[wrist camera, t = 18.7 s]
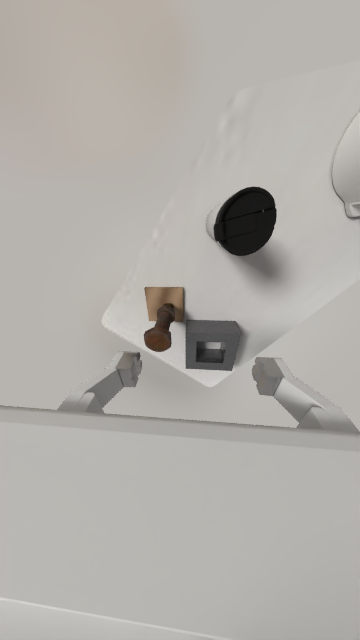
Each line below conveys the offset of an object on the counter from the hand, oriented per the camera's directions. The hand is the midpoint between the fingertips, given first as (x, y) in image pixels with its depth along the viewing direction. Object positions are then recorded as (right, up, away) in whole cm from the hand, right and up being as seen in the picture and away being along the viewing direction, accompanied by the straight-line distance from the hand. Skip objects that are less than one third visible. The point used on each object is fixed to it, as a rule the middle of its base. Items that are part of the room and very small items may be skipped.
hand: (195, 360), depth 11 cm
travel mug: (+7, +23, +22) cm, 33 cm away
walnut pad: (-5, +7, +33) cm, 34 cm away
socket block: (+8, -3, +38) cm, 39 cm away
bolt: (-4, +7, +32) cm, 33 cm away
